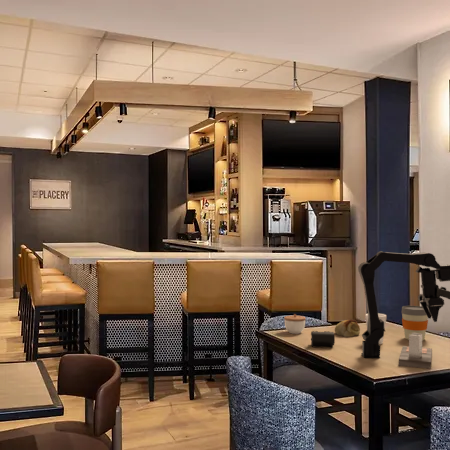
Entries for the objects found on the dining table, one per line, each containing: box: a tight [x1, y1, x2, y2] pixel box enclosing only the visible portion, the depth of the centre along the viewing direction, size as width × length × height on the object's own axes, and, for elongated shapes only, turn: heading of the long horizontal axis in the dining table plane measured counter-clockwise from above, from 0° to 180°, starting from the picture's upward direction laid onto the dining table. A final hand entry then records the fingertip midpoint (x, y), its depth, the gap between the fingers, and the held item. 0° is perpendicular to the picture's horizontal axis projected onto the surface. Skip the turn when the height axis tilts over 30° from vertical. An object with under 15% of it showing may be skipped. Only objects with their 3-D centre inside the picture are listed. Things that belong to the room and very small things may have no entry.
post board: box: [398, 345, 433, 370], centre depth 227 cm, size 24×12×6 cm, turn 158°
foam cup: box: [365, 312, 387, 345], centre depth 257 cm, size 10×9×13 cm
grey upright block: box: [408, 333, 423, 358], centre depth 222 cm, size 4×5×9 cm
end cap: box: [310, 330, 336, 348], centre depth 250 cm, size 10×7×7 cm
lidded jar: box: [283, 313, 307, 335], centre depth 279 cm, size 11×11×9 cm
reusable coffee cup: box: [401, 305, 429, 341], centre depth 266 cm, size 13×12×15 cm
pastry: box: [334, 319, 361, 338], centre depth 276 cm, size 14×12×8 cm
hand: (432, 320), depth 229 cm, fingers open, 9 cm apart
